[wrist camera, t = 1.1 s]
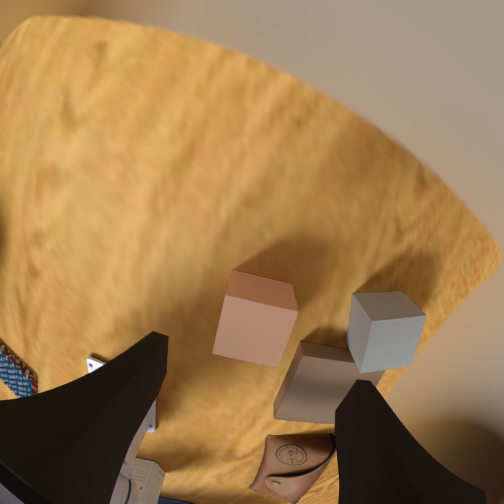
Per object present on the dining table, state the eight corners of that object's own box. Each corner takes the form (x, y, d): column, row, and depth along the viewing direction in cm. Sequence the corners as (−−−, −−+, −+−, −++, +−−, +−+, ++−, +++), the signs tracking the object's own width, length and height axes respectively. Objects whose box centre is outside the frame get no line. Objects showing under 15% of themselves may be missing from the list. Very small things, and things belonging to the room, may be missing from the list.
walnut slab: (344, 407, 25) (349, 424, 22) (273, 400, 24) (273, 418, 22) (378, 350, 22) (387, 365, 20) (299, 338, 22) (303, 355, 20)
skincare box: (155, 460, 29) (134, 524, 17) (167, 473, 30) (150, 533, 18) (121, 454, 29) (97, 512, 18) (134, 468, 30) (114, 523, 19)
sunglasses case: (262, 432, 25) (297, 474, 20) (312, 412, 29) (347, 445, 23) (247, 489, 30) (269, 518, 25) (284, 473, 34) (307, 500, 28)
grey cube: (390, 335, 22) (411, 365, 17) (345, 340, 22) (360, 373, 17) (400, 290, 20) (426, 315, 16) (352, 293, 21) (371, 321, 16)
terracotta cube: (275, 332, 22) (277, 367, 17) (220, 320, 22) (211, 353, 17) (291, 283, 20) (298, 311, 16) (232, 269, 20) (225, 294, 16)
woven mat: (40, 406, 29) (34, 413, 27) (-2, 366, 28) (-8, 372, 26) (40, 374, 26) (33, 382, 24) (-6, 329, 25) (-14, 335, 23)
